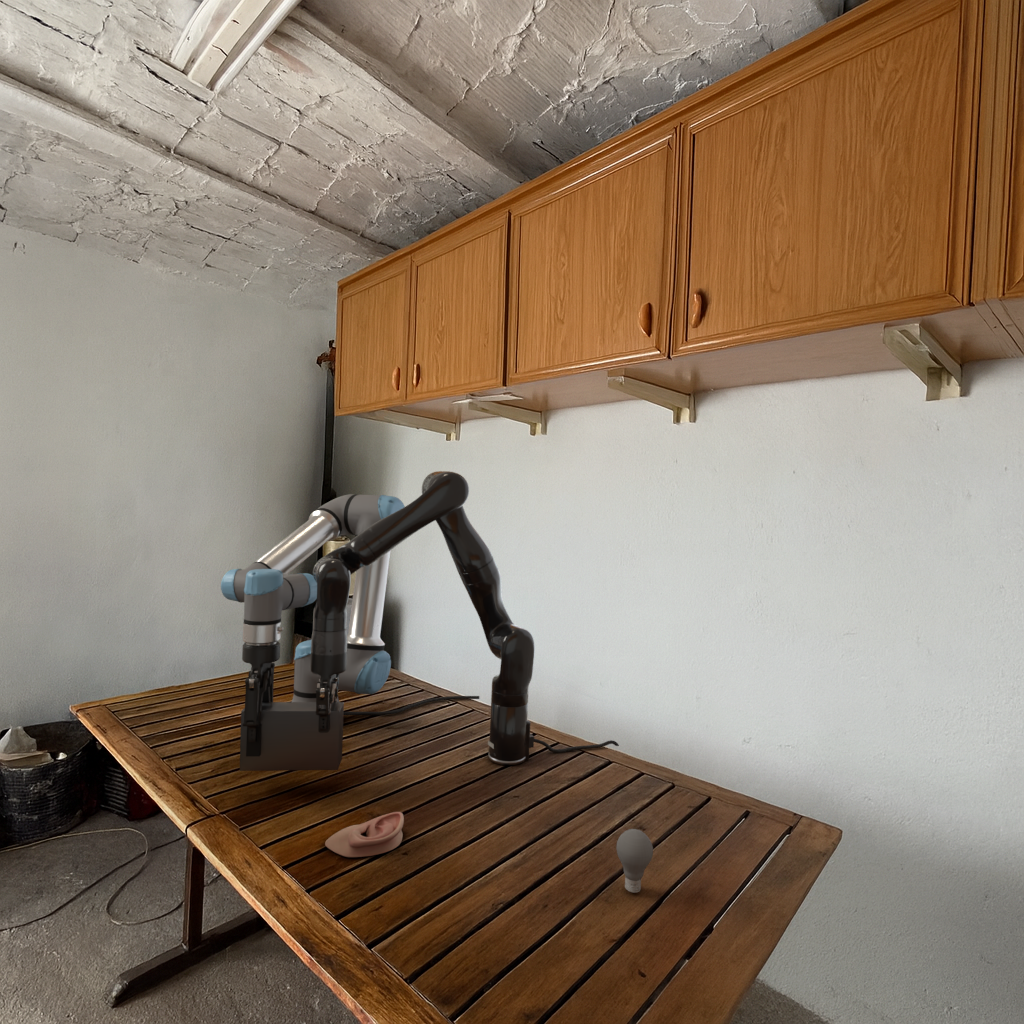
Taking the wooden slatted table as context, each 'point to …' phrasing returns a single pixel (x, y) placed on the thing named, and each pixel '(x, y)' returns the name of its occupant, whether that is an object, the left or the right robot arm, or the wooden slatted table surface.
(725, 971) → the wooden slatted table surface
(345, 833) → the anatomical model
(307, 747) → the box
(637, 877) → the light bulb
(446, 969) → the wooden slatted table surface
